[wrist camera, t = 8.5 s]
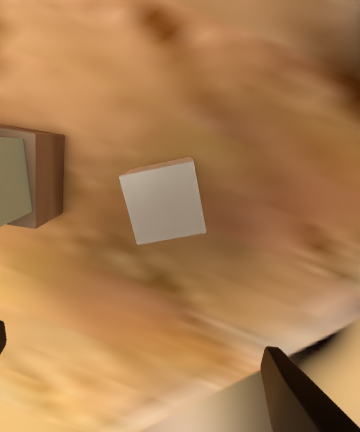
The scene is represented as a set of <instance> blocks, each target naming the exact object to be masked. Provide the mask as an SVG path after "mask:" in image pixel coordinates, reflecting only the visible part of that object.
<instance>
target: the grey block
mask: <svg viewBox="0 0 360 432" xmlns="http://www.w3.org/2000/svg"><path fill="white" fill-rule="evenodd" d="M119 180H120V184H121V187H122V191H123V195H124V198H125V202H126V206H127V209H128V213H129V217H130V221H131V224H132V228H133V232H134V235H135V239H136V243H137V245H142V244H147V243H153V242H158V241H164V240H169V239H175V238H180V237H186V236H191V235H197V234H202V233H206V227H205V222H204V216H203V211H202V205H201V200H200V194H199V188H198V183H197V177H196V172H195V166H194V161H193V159H192V157H186V158H181V159H176V160H171V161H166V162H161V163H157V164H152V165H147V166H142V167H137V168H133V169H131V170H129V171H127V172H125V173H124V174H122V175H120V176H119Z"/></svg>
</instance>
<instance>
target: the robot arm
mask: <svg viewBox="0 0 360 432" xmlns="http://www.w3.org/2000/svg"><path fill="white" fill-rule="evenodd" d="M5 345H6V332H5V324H4V322H3V321H1V320H0V354H1V352H2V351H3V349H4V347H5ZM261 375H262V380H263V385H264V391H265V396H266V402H267V407H268V412H269V417H270V422H271V426H272V430H273V432H360V428H359V427H358V426H357V425H356V424H355V423H354V422H353V421H352V420H351V419H350V418H349V417H348V416H347V415H346V414H345V413H344V412H343V411H342V410H341V409H340V408H339V407H338V406H337V405H336V404H335V403H334V402H333V401H332V400H331V399H330V398H329V397H328V396H327V395H326V394H325V393H324V392H323V391H322V390H321V389H320V388H319V387H318V386H317V385H316V384H315V383H314V382H313V381H312V380H311V379H310V378H309V377H308V376H307V375H306V374H305V373H304V372H303V371H302V370H301V369H300V368H299V367H298V366H297V365H295V363H294V362H292V360H291V359H290V358H289V357H288V356H287V355H286V354H285V353H284V352H283V351H282V350H281V349H279V348H278V347H271V346H267V347H266V348H265V350H264V354H263V358H262V362H261Z"/></svg>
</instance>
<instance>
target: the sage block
mask: <svg viewBox="0 0 360 432" xmlns="http://www.w3.org/2000/svg"><path fill="white" fill-rule="evenodd" d="M31 212H32V205H31V198H30V190H29V182H28V174H27V166H26V158H25V151H24V143H23V139H21V138H1V137H0V227H1V226H3V225H5V224H7V223H10V222H12V221H14V220H16V219H18V218H20V217H22V216H25V215H27V214H29V213H31Z"/></svg>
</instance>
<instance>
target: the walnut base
mask: <svg viewBox="0 0 360 432" xmlns="http://www.w3.org/2000/svg"><path fill="white" fill-rule="evenodd" d="M0 137H1V138H21V139H23V143H24V151H25V158H26V166H27V174H28V182H29V190H30V198H31V205H32V212H31V213H29V214H27V215H25V216H22V217H20V218H18V219H16V220H14V221H12V222H10V223H7V224H8V225H14V226H21V227H27V228H34V229H36V228H38V227H40V226H41V225H43V224H45V223H46V222H48V221H50V220H51V219H53V218H55V217H56V216H58V215H60V214H61V213H62V210H63V175H64V141H65V135H60V134H54V133H48V132H42V131H36V130H30V129H25V128H19V127H13V126H7V125H1V124H0Z"/></svg>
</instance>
